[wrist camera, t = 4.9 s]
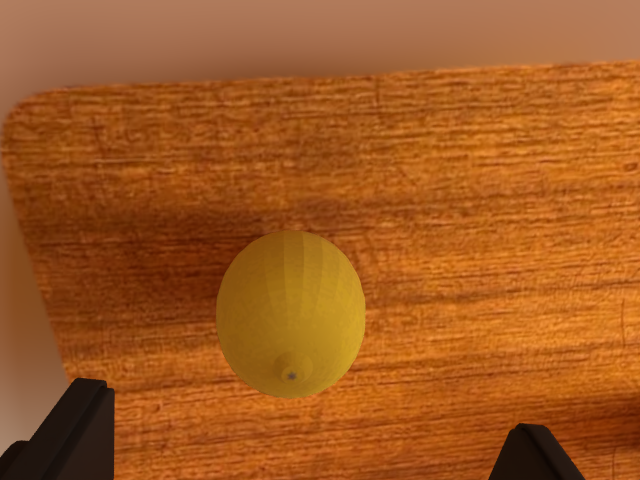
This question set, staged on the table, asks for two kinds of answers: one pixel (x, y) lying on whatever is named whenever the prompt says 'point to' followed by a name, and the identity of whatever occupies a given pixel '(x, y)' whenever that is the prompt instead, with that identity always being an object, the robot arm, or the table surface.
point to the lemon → (290, 314)
